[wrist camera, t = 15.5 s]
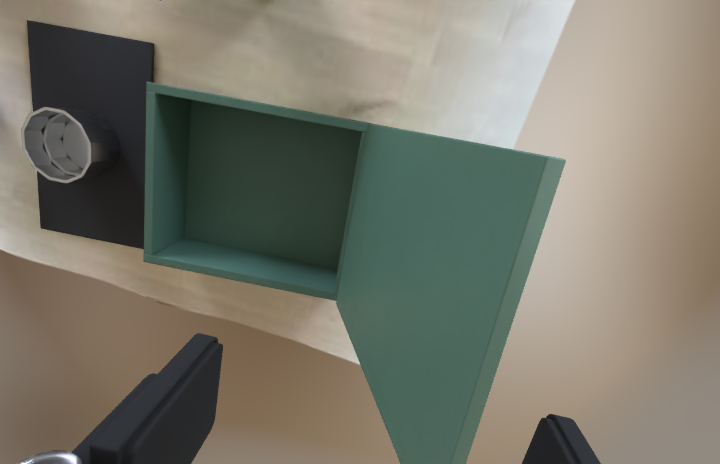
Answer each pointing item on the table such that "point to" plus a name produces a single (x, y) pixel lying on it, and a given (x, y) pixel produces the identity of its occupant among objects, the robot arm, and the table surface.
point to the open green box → (249, 189)
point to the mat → (116, 106)
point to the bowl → (69, 144)
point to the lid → (438, 278)
